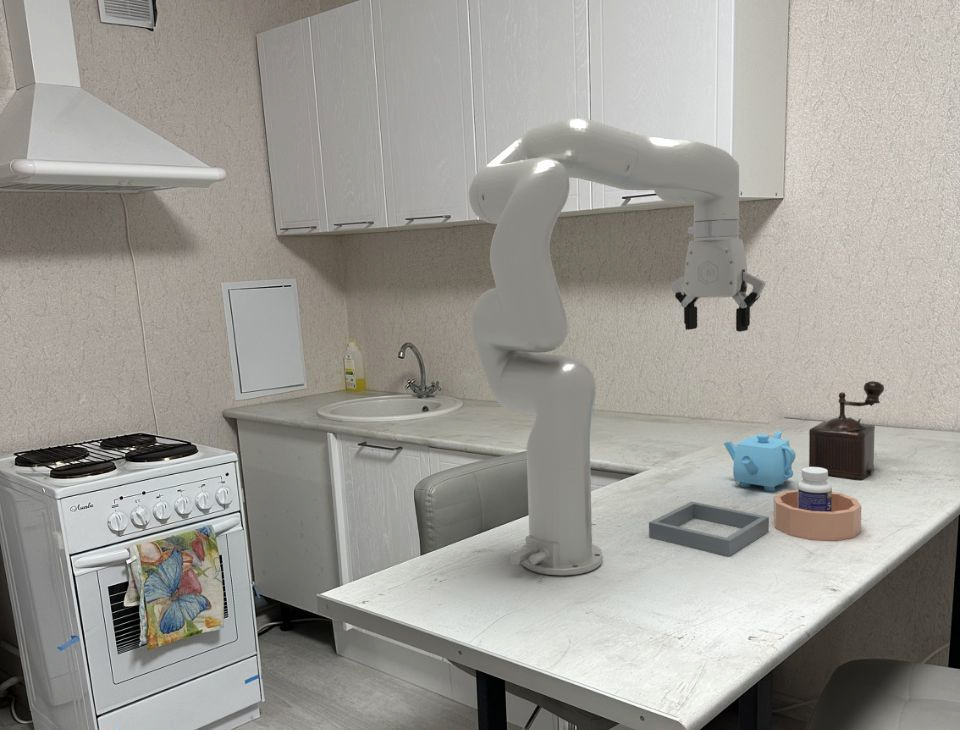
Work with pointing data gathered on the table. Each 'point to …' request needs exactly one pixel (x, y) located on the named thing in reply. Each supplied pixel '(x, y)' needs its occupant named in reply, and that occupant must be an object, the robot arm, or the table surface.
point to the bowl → (817, 518)
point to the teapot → (762, 461)
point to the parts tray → (726, 546)
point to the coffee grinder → (845, 440)
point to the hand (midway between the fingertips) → (716, 329)
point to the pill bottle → (815, 490)
